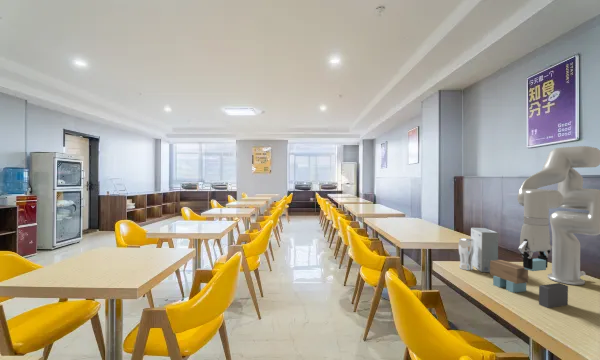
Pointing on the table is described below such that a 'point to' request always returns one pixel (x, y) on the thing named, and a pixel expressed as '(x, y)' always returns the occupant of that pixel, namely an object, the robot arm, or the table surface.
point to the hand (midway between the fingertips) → (535, 267)
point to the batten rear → (499, 282)
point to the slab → (509, 271)
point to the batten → (538, 265)
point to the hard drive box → (484, 248)
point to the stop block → (553, 295)
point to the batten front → (515, 287)
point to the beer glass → (466, 253)
